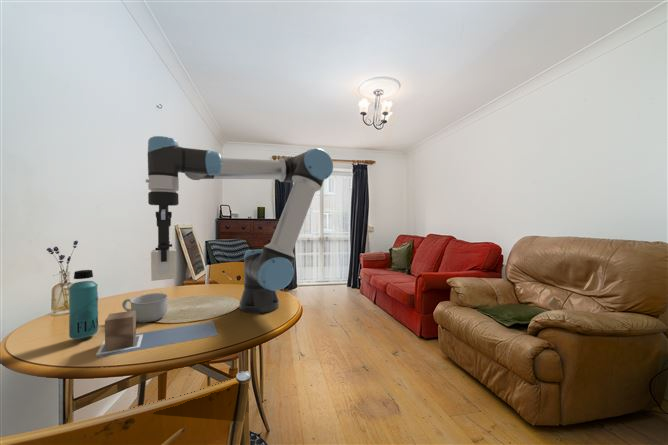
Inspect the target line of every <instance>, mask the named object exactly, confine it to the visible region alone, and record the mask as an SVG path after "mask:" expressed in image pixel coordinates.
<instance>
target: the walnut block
mask: <svg viewBox="0 0 668 445" xmlns="http://www.w3.org/2000/svg"><path fill="white" fill-rule="evenodd" d="M136 334H137V321H136V310H135V311H128V312H127V311H121V312H115V313H109V314H108V316H107V317H106V319H105V320H104V341H105V351H109V350H115V349H120V348H126V347H131V346H133V345H134V342H135V339H136Z"/></svg>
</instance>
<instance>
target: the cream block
mask: <svg viewBox="0 0 668 445" xmlns="http://www.w3.org/2000/svg"><path fill="white" fill-rule="evenodd" d="M169 256H170V273H160V274H158V250H155V249H152V250H151V252H150V260H151V261H150V266H151V267H150V268H151V269H150V271H151V273H150V274H151V278H150V279H151V280H150V281H153V282H154V281H163V280H164V281H165V280H166V281H167V280H174V279H177V249H176V248H170V249H169Z"/></svg>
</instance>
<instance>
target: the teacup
mask: <svg viewBox="0 0 668 445" xmlns="http://www.w3.org/2000/svg"><path fill="white" fill-rule="evenodd" d="M168 299H169V295H168V294H167V293H163V292H152V293H144V294H141V295H137V296H135V297H133V298H131V297H129V298H125V299H124V300H123V301H122V309H123V310H125V312H128V311H135V310H136V322H138V323H142V324H143V323H152V322H156V321H159V320H161V319H163V317H164V316H165V315H166V314H167V312H168V307H169V306H168V303H169V301H168ZM128 302H130V307H129V306H128V304H127V303H128Z"/></svg>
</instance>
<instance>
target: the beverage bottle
mask: <svg viewBox="0 0 668 445" xmlns="http://www.w3.org/2000/svg"><path fill="white" fill-rule="evenodd" d="M93 273H94V272H93V270H92V269H81V270H75V271H74V273H73V280H82V281H77V282H74V283H72V284H71V285H70V286H69V287H68V292H69V294H68V295H69V296H68V299H69V300H68V301H69V303H68V306H69V308H68V309H69V310H68V311H69V315H68V319H69V320H68V336H69V338H70V339H73V340H76V339H84V338H88V337H90V336H94V335H96V334H97V333H98V330H99V309H98V308H99V305H98V304H99V301H98V300H99V296H98V295H99V292H98V283H97V282H95V281H94V280H85V279H91V278H93V277H94V274H93Z"/></svg>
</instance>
